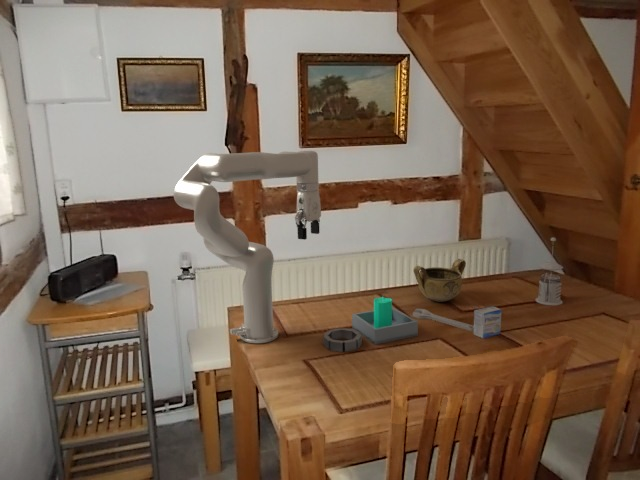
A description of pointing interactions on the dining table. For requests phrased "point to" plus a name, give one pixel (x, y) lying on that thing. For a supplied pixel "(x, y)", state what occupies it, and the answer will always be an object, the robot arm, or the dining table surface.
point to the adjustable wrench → (441, 319)
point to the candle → (382, 312)
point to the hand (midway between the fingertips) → (308, 236)
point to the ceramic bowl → (440, 281)
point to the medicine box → (487, 322)
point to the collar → (341, 346)
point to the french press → (549, 284)
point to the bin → (398, 330)
